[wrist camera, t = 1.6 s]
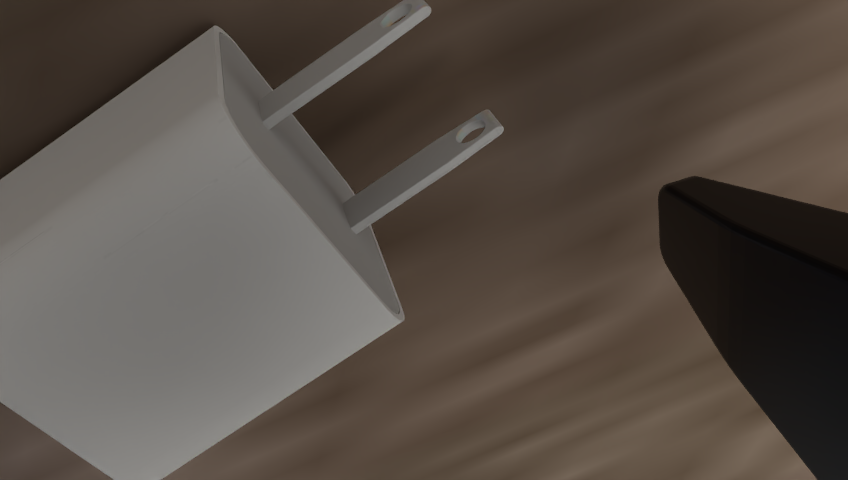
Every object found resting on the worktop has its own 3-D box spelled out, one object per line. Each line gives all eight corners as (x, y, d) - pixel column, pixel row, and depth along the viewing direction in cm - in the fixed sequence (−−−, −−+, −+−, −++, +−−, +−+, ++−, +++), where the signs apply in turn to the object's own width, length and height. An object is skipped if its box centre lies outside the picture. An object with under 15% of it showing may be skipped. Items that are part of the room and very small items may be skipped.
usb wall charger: (-16, 177, 12) (-95, 337, 9) (357, -91, 11) (424, -28, 8) (165, 334, 14) (155, 508, 11) (485, 116, 14) (579, 233, 10)
